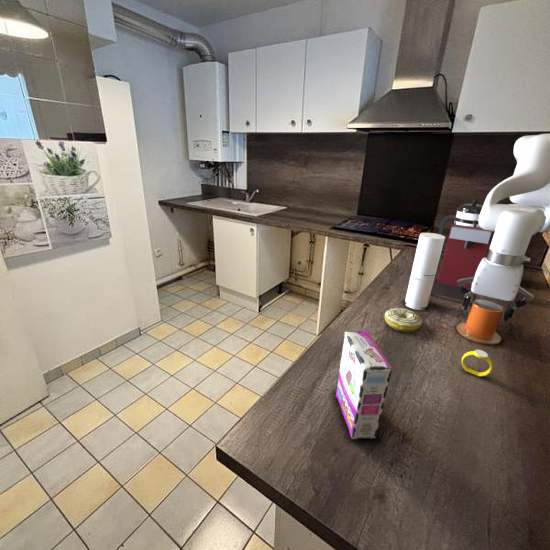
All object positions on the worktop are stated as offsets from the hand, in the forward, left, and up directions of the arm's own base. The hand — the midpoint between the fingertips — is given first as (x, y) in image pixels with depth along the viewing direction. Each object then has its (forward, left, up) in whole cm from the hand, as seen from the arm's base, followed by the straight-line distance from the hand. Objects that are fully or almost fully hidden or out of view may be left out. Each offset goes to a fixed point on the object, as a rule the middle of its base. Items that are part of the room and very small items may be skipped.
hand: (484, 313), depth 84 cm
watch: (+12, +17, -7) cm, 22 cm away
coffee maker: (-9, -29, -7) cm, 31 cm away
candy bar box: (+44, +30, -7) cm, 54 cm away
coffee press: (-32, -68, -7) cm, 75 cm away
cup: (0, 0, -6) cm, 6 cm away
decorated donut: (+21, -4, -7) cm, 23 cm away
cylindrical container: (+11, -17, -7) cm, 21 cm away
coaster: (0, 0, -7) cm, 7 cm away
